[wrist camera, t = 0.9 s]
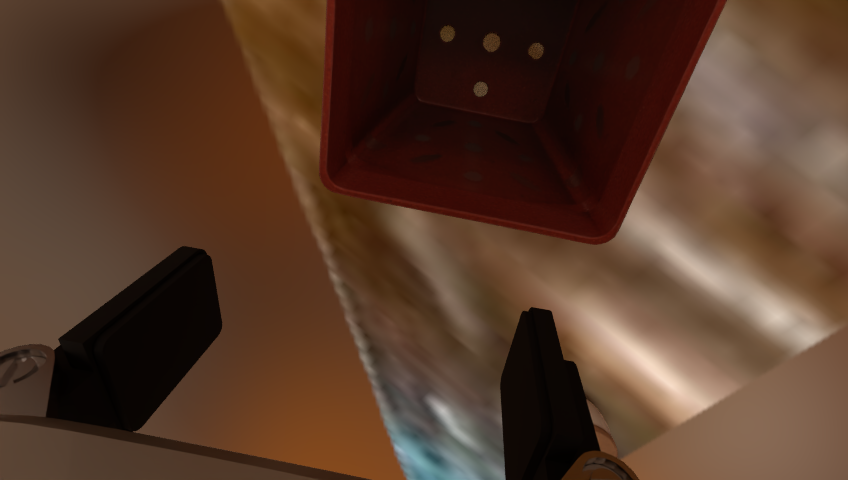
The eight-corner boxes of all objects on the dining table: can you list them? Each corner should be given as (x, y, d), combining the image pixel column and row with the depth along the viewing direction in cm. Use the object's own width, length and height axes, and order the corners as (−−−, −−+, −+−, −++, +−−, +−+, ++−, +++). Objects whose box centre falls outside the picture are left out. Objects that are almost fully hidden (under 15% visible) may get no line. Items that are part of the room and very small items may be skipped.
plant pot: (561, 167, 40) (611, 251, 25) (375, 130, 40) (316, 191, 25) (645, -69, 30) (805, -156, 16) (401, -115, 31) (333, -244, 16)
